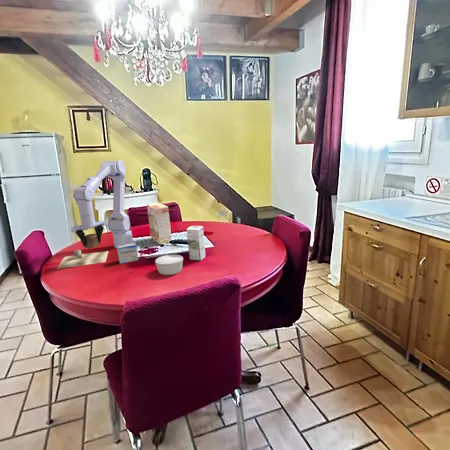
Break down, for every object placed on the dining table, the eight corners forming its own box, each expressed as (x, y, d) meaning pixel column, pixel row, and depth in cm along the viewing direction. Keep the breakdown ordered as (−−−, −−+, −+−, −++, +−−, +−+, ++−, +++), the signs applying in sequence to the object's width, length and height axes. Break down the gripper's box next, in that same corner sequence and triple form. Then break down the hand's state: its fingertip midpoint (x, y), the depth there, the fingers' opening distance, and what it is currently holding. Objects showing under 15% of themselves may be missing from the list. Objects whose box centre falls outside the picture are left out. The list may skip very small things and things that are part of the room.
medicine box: (121, 267, 146) (118, 248, 144) (119, 264, 150) (116, 245, 147) (139, 263, 149) (136, 244, 147) (136, 260, 153) (134, 242, 151)
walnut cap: (99, 243, 153) (97, 233, 152) (98, 247, 148) (96, 236, 146) (86, 245, 152) (84, 234, 150) (84, 248, 146) (82, 238, 145)
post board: (109, 253, 164) (107, 244, 163) (106, 265, 149) (104, 254, 148) (65, 259, 160) (63, 249, 158) (57, 271, 145) (55, 261, 143)
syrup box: (206, 256, 152) (203, 225, 148) (200, 261, 147) (198, 229, 143) (194, 255, 154) (191, 225, 150) (189, 260, 148) (186, 228, 145)
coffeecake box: (150, 238, 185) (146, 204, 180) (163, 236, 188) (159, 202, 183) (159, 245, 172) (155, 208, 167) (172, 242, 175) (168, 206, 170)
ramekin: (187, 266, 142) (186, 254, 141) (178, 277, 131) (177, 264, 130) (163, 265, 145) (161, 254, 143) (152, 276, 134) (150, 263, 133)
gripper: (99, 210, 153) (104, 238, 157) (66, 216, 144) (72, 246, 148) (105, 212, 148) (110, 241, 152) (72, 219, 139) (77, 249, 143)
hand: (92, 244), depth 149 cm, fingers closed on walnut cap, 6 cm apart
